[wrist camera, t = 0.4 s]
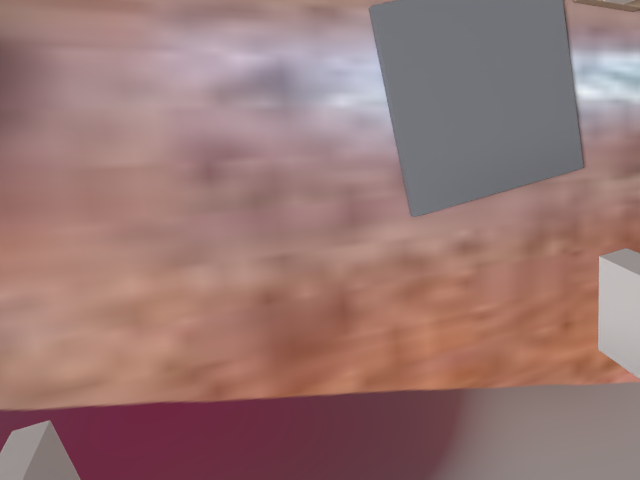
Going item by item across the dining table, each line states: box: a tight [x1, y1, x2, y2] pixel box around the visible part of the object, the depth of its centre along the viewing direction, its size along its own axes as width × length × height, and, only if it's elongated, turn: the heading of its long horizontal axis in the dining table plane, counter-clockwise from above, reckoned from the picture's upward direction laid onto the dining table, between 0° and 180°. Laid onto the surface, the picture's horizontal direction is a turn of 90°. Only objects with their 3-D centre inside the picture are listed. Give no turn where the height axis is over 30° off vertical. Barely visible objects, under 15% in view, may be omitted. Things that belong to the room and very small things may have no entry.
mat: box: [369, 0, 584, 217], centre depth 39 cm, size 16×16×1 cm
